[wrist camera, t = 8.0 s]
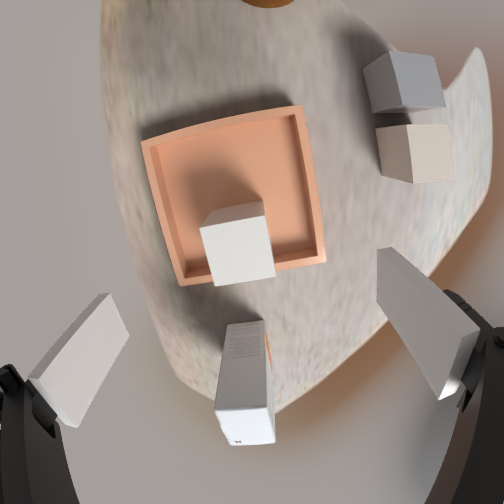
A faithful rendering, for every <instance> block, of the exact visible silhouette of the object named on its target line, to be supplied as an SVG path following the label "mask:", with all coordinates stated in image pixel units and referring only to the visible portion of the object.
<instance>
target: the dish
mask: <svg viewBox="0 0 504 504" xmlns="http://www.w3.org/2000/svg"><path fill="white" fill-rule="evenodd" d="M141 147H142V152H143V156H144V161H145V165H146V170H147V174H148V178H149V182H150V187H151V191H152V195H153V198H154V202H155V206H156V210H157V214H158V217H159V221H160V225H161V228H162V232H163V235H164V238H165V242H166V245H167V249H168V252H169V255H170V258H171V262H172V265H173V268H174V271H175V274H176V277H177V280H178V283H179V286H180V287H181V286H187V285H194V284H200V283H207V282H213V278H212V274H211V271H210V267H209V263H208V260H207V256H206V252H205V248H204V244H203V241H202V237H201V233H200V229H199V228H200V226H201V225H202V224H203V222H204V221H205V220H206V218H207V217H208V216H209V214H210V213H211V212H212V211H213V210H215V209H219V208H224V207H229V206H234V205H239V204H245V203H250V202H255V201H261V200H263V201H264V206H265V211H266V217H267V222H268V227H269V233H270V238H271V244H272V249H273V257H274V264H275V271H278V270H284V269H290V268H295V267H301V266H306V265H312V264H317V263H323V262H326V253H325V244H324V235H323V227H322V219H321V211H320V204H319V197H318V190H317V183H316V177H315V171H314V165H313V159H312V153H311V148H310V142H309V137H308V132H307V127H306V122H305V117H304V112H303V108H302V105H295V106H287V107H280V108H274V109H267V110H261V111H256V112H250V113H245V114H240V115H235V116H231V117H226V118H222V119H217V120H213V121H209V122H205V123H201V124H197V125H193V126H190V127H186V128H183V129H179V130H176V131H172V132H169V133H166V134H162V135H159V136H156V137H153V138H150V139H147V140H144V141H141Z"/></svg>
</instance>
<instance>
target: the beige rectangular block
mask: <svg viewBox="0 0 504 504" xmlns="http://www.w3.org/2000/svg"><path fill="white" fill-rule="evenodd" d="M375 131H376V137H377V143H378V150H379V157H380V164H381V173H382V176H386V177H390V178H394V179H398V180H402V181H406V182H409V183H413V184H415V183H424V182H433V181H443V180H454V179H455V177H454V162H453V152H452V143H451V135H450V128H449V125H424V124H410V125H398V126H390V127H383V128H376V129H375Z"/></svg>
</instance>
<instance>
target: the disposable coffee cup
mask: <svg viewBox="0 0 504 504" xmlns="http://www.w3.org/2000/svg"><path fill="white" fill-rule="evenodd" d="M243 1H244V2H245V3H248V4H250V5H253V6H256V7H262V8H276V7H282V6H284V5H287V4H289V3H291V2H293V1H294V0H243Z"/></svg>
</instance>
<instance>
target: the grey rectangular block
mask: <svg viewBox="0 0 504 504" xmlns="http://www.w3.org/2000/svg"><path fill="white" fill-rule="evenodd" d="M362 71H363V75H364V79H365V83H366V87H367V91H368V95H369V100H370V105H371V109H372V113H413V112H419V111H425V110H431V109H437V108H444V107H446V105H445V100H444V95H443V91H442V86H441V82H440V79H439V75H438V71H437V67H436V64H435V60H434V57H433V56H427V55H421V54H413V53H406V52H398V51H387V52H386V53H384V54H383V55H382V56H380V57H379V58H377V59H376V60H374V61H373V62H372V63H370V64H369V65H367V66H366V67H365V68H363V69H362Z"/></svg>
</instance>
